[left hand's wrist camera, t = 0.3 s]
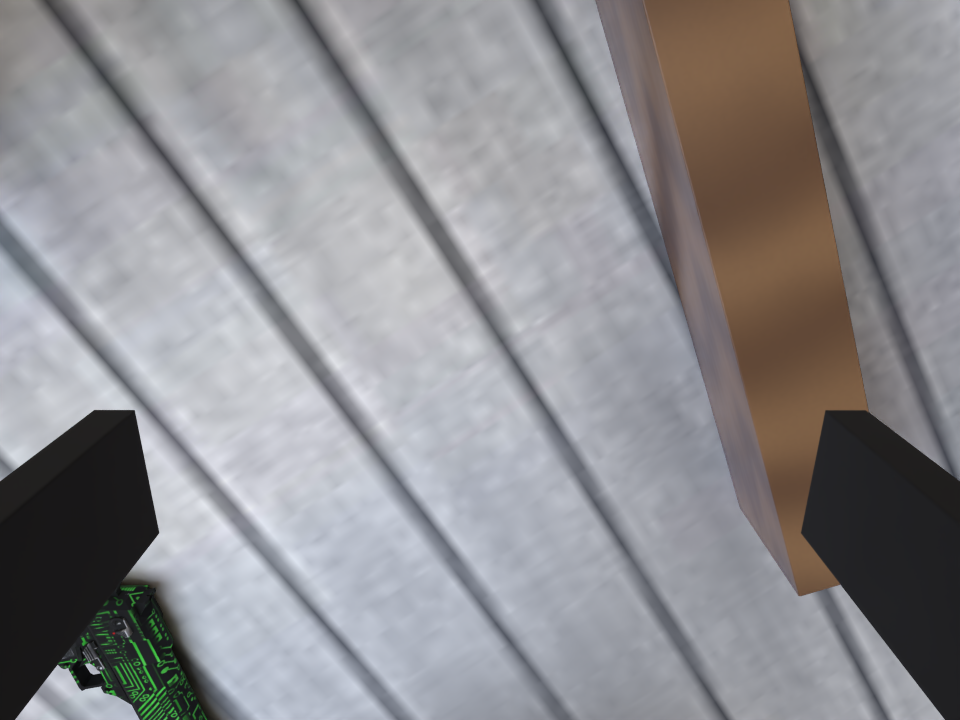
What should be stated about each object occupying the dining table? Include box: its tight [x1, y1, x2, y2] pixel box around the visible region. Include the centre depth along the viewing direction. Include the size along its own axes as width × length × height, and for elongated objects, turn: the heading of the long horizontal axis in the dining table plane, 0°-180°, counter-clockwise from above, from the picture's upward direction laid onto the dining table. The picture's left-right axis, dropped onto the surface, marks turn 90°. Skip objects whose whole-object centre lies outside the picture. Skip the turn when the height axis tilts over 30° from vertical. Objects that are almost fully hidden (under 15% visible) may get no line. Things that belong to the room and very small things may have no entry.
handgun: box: [58, 583, 208, 720], centre depth 47 cm, size 16×3×15 cm
